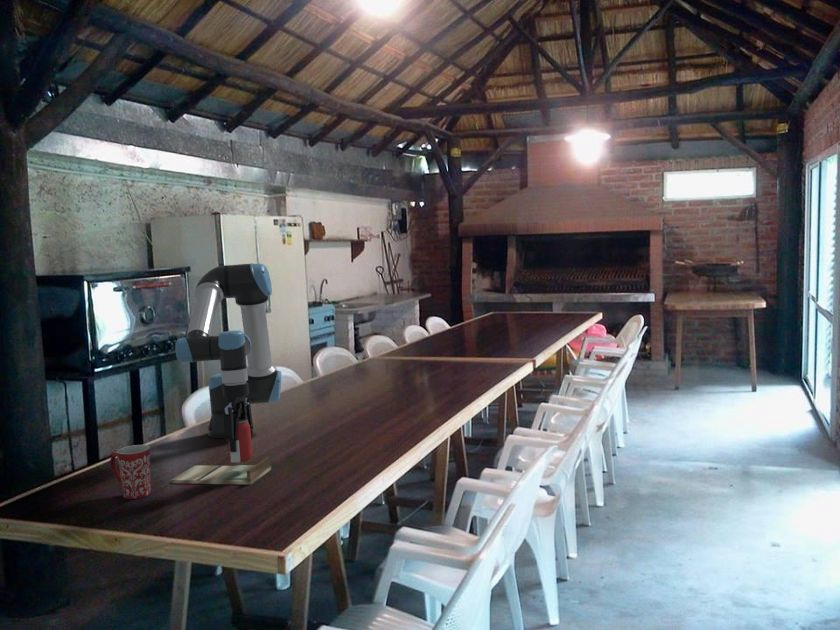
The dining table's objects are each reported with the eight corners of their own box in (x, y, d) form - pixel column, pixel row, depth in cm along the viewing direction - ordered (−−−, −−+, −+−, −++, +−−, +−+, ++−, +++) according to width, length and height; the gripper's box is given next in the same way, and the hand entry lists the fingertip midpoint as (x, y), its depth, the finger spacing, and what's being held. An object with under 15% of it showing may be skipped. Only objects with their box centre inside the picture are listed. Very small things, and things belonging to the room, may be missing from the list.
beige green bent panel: (170, 483, 218) (169, 470, 218) (195, 468, 232) (194, 456, 231) (251, 484, 212) (249, 471, 212) (271, 469, 226) (270, 456, 225)
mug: (161, 490, 212) (157, 445, 210) (138, 501, 203) (134, 454, 202) (127, 487, 216) (123, 443, 215) (104, 498, 208) (99, 451, 207)
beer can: (243, 455, 224) (240, 417, 223) (257, 458, 220) (253, 419, 219) (225, 461, 219) (222, 422, 218) (239, 464, 215) (235, 424, 214)
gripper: (238, 377, 228) (244, 449, 230) (207, 389, 209) (214, 468, 211) (260, 376, 226) (266, 449, 228) (231, 389, 207) (237, 468, 209)
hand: (241, 458), depth 220 cm, fingers closed on beer can, 7 cm apart
